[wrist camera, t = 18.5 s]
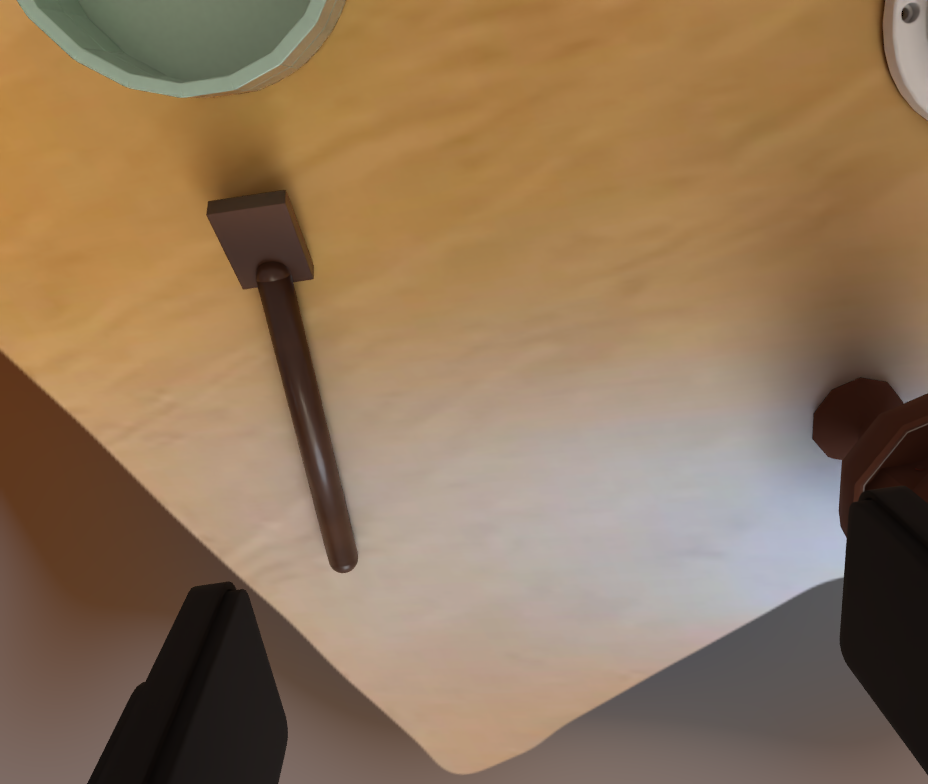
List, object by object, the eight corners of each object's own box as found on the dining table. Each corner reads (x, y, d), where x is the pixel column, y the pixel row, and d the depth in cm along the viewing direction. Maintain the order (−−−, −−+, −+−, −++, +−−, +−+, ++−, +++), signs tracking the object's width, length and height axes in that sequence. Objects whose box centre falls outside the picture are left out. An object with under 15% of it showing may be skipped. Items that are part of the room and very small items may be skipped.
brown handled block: (207, 200, 35) (181, 393, 29) (286, 189, 35) (277, 379, 29) (317, 428, 52) (316, 581, 46) (370, 420, 52) (377, 572, 46)
